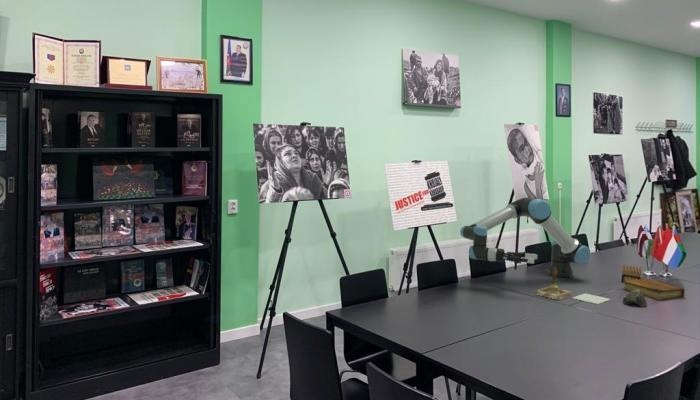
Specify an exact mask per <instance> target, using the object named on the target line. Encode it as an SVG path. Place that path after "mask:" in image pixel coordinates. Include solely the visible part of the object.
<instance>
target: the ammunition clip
mask: <svg viewBox="0 0 700 400" xmlns="http://www.w3.org/2000/svg"><path fill="white" fill-rule="evenodd" d="M637 279H642V265H640V264H639V266H638V264H636V266H635V264H633V266H632V264H631V263H630V264H629V263H625V262H624V263H623V265H622V273H621V281H620V283H623V281H628V280H637ZM623 284H624V283H623Z"/></svg>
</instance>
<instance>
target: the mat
mask: <svg viewBox="0 0 700 400" xmlns="http://www.w3.org/2000/svg"><path fill="white" fill-rule="evenodd" d="M572 298H573V300H576V299H577V301H580V300H581V302H586V303H590V304H594V305H602V304H605V303H606V302H609V301H611V300H612V299H611V298H607V297H603V296H599V295H594V294H589V293H582V294H579V295H576V296H573V297H572Z"/></svg>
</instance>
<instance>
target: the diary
mask: <svg viewBox="0 0 700 400" xmlns="http://www.w3.org/2000/svg"><path fill="white" fill-rule="evenodd" d="M623 284H624V288H623V289H622V290H623V291H627V292H628V293H630V292H631V291H634V290H636V289H638V290H641V292H642V294H643V296H644V297H647V298H650V299H653V300H656V301H666V300H674V299H675V300H676V299H680V298H685V291H686V290H685V288H683V287H679V286H677V285H673V284H668V283H665V282H661V281H656V280H654V279H648V278H641V279H637V280H628V281H623Z"/></svg>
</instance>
